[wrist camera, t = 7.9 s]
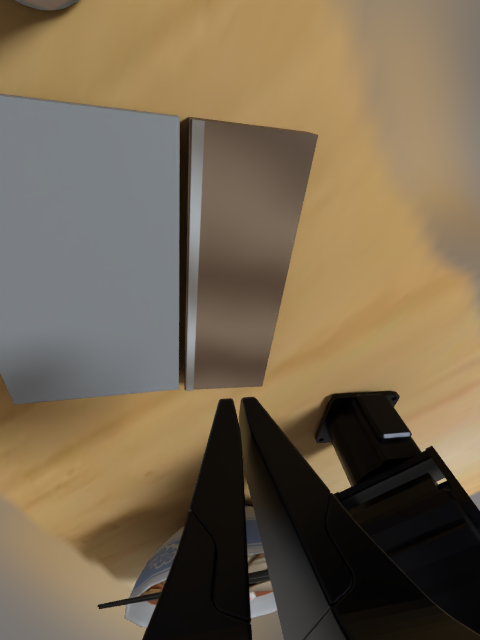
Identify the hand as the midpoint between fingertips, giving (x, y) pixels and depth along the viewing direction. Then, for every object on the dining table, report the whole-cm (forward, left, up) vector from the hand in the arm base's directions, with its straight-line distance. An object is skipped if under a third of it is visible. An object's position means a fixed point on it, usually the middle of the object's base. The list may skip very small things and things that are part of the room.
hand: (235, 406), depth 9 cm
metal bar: (-1, -2, -11) cm, 11 cm away
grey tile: (-1, +7, -10) cm, 12 cm away
